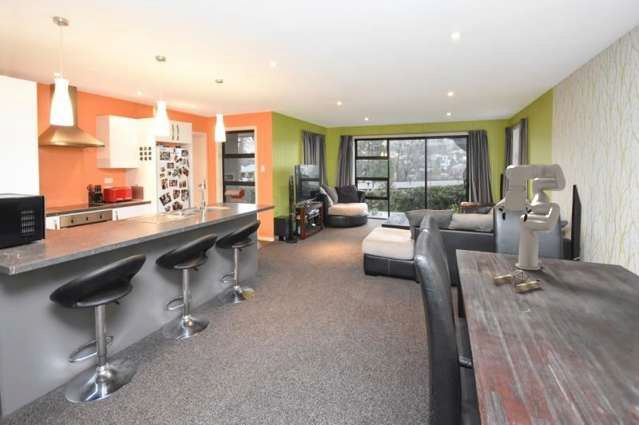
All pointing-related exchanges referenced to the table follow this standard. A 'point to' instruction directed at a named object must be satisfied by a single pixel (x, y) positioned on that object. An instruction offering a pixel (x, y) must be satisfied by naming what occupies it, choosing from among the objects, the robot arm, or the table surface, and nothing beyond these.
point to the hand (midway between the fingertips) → (514, 220)
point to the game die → (518, 276)
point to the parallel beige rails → (521, 286)
